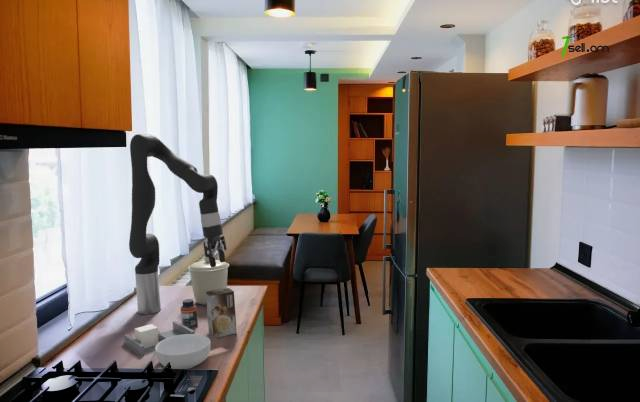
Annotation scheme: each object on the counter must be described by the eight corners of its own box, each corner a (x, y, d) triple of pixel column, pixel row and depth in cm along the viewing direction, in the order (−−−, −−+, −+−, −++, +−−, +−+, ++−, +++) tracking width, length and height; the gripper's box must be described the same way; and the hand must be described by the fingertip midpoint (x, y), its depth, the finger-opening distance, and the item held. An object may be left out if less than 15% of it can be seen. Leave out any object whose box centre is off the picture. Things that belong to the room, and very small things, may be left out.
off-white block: (135, 345, 168) (134, 328, 168) (152, 340, 172) (151, 324, 172) (141, 349, 165) (140, 332, 164) (158, 344, 169) (157, 327, 168)
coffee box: (231, 328, 186) (229, 287, 184) (237, 333, 180) (234, 291, 179) (207, 333, 182) (205, 291, 180) (212, 338, 176) (210, 295, 175)
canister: (239, 299, 223) (237, 253, 221) (210, 310, 208) (207, 261, 206) (210, 293, 233) (208, 250, 231) (181, 304, 218) (178, 258, 216)
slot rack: (123, 347, 171) (122, 335, 170) (177, 332, 184) (176, 320, 183) (140, 360, 159) (139, 347, 159) (196, 342, 173) (195, 330, 172)
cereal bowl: (175, 382, 143) (173, 359, 143) (146, 367, 155) (144, 345, 154) (222, 362, 156) (221, 341, 155) (192, 349, 167) (191, 329, 166)
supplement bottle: (189, 325, 191) (187, 297, 190) (201, 327, 188) (199, 298, 187) (178, 330, 185) (176, 301, 184) (190, 332, 183) (188, 303, 182)
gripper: (211, 223, 202) (217, 261, 203) (194, 228, 188) (201, 269, 189) (227, 220, 200) (234, 259, 201) (211, 225, 186) (219, 267, 187)
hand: (218, 264), depth 195 cm, fingers open, 8 cm apart
